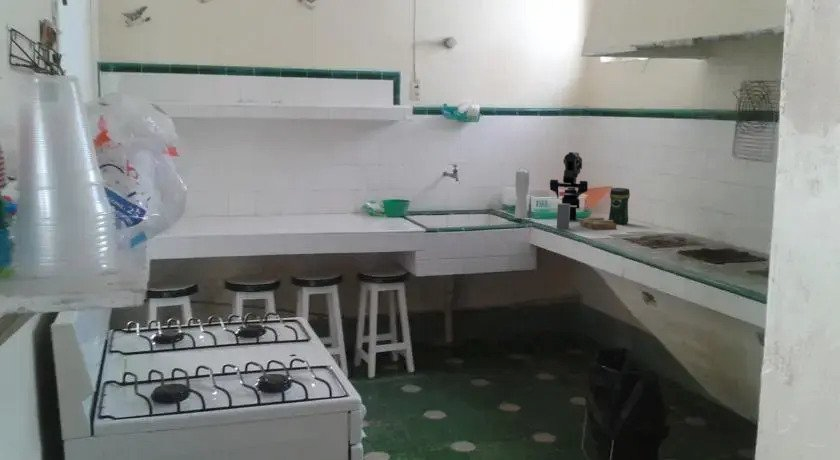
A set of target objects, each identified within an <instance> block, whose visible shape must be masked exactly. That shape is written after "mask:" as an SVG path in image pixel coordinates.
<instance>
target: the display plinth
mask: <svg viewBox="0 0 840 460" xmlns="http://www.w3.org/2000/svg"><path fill="white" fill-rule="evenodd" d="M579 226H580V227H584V228H588V229H591V230H594V231H596V230H598V231H599V230H601V231H602V230H616V229H617V224H614V223H613V220H609V219H605V218H604V217H584V218H583V219H582V220H580V221H579Z"/></svg>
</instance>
